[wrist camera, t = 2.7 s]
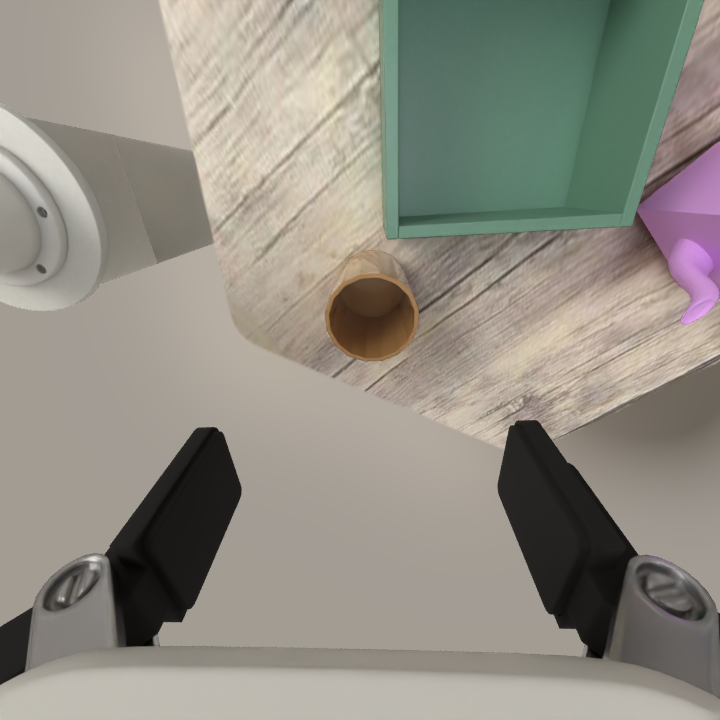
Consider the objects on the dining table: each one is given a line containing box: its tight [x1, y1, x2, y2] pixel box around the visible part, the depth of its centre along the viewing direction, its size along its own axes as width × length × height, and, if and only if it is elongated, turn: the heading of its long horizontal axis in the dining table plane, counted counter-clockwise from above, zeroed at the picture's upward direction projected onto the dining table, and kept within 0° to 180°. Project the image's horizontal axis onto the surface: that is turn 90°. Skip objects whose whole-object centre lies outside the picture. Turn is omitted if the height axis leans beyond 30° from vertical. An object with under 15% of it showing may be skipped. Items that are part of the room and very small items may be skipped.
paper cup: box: [325, 250, 419, 361], centre depth 27 cm, size 7×7×9 cm
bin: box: [379, 0, 704, 239], centre depth 21 cm, size 16×16×8 cm
